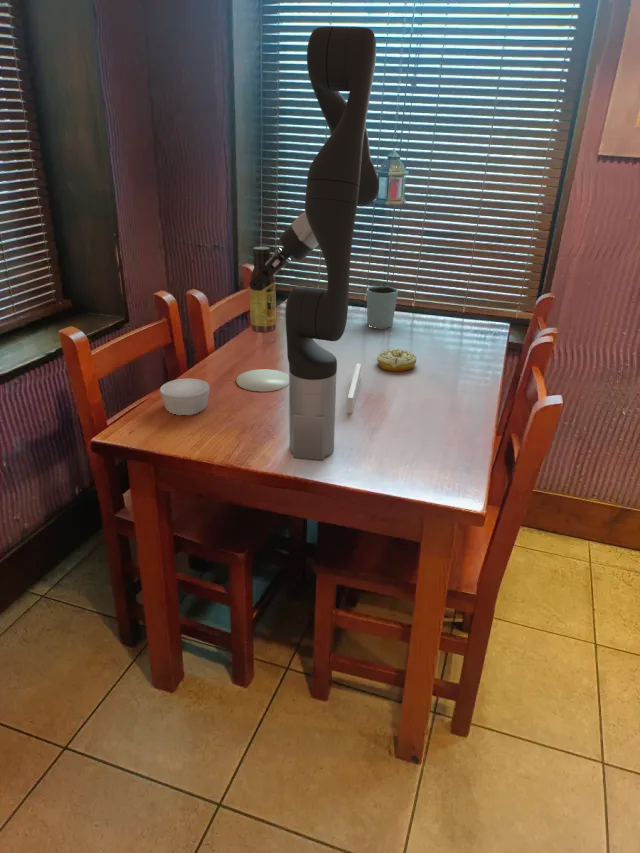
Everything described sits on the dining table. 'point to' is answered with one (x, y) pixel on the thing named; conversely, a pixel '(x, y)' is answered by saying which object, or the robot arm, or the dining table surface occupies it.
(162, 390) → the ramekin
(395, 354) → the decorated donut
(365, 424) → the dining table surface
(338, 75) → the robot arm
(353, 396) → the frosted wall
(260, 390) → the sage pad
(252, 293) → the sauce bottle
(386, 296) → the grey tapered cup
